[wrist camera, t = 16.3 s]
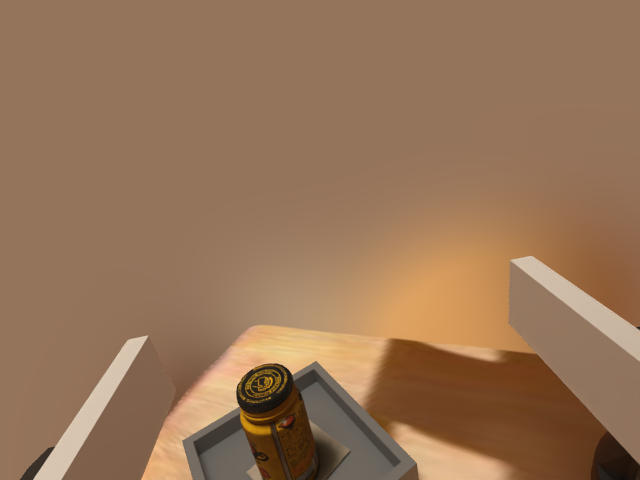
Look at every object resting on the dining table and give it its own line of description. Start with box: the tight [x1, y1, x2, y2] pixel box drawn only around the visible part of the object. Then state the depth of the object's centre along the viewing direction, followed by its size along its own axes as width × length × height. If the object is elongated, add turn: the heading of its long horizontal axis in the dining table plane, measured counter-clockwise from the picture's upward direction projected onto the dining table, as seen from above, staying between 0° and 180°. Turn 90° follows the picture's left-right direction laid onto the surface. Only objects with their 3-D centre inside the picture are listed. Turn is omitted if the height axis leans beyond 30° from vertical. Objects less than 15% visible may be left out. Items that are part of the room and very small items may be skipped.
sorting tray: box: [182, 361, 419, 480], centre depth 36 cm, size 18×18×3 cm
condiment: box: [236, 363, 350, 480], centre depth 34 cm, size 7×8×12 cm
